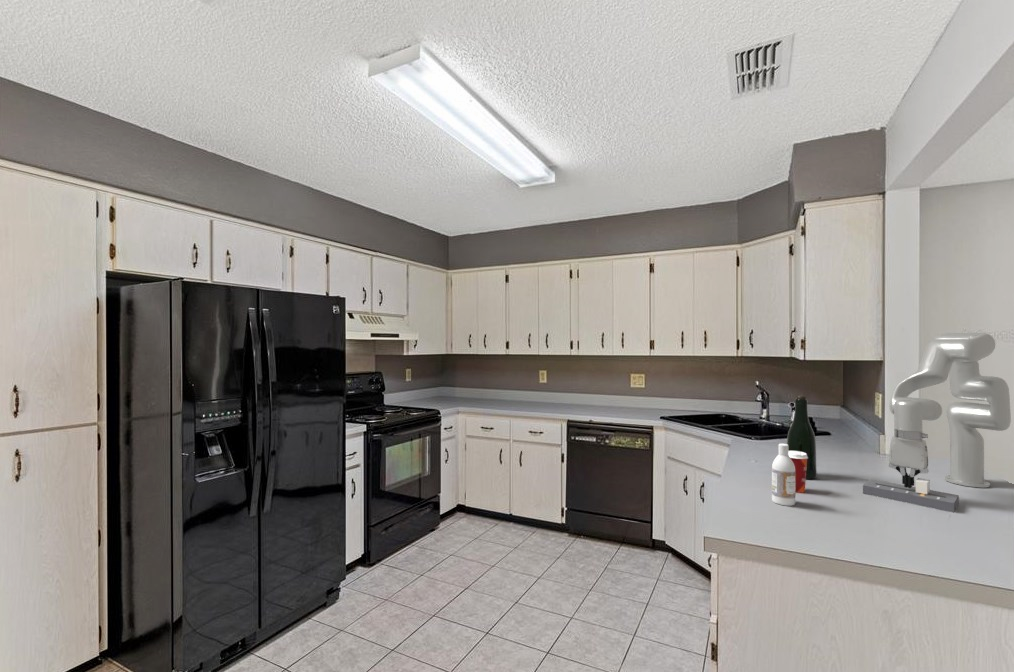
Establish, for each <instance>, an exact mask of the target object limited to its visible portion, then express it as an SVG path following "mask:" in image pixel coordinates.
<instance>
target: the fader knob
mask: <svg viewBox="0 0 1014 672" xmlns="http://www.w3.org/2000/svg"><path fill="white" fill-rule="evenodd" d="M930 482H931V480H930V479H926V478H923V477H917V479H916V480H915V487H916V492H917V493H922V494H928V493H929V492H930V490H931V486H930Z"/></svg>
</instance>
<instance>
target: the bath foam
mask: <svg viewBox="0 0 1014 672" xmlns="http://www.w3.org/2000/svg"><path fill="white" fill-rule="evenodd" d="M771 501H772V502H773V503H775V504H776V505H780V506H787V507H788V506H789V507H791V506H795V504H796V492H795V466H794V463H793V461H792V460H791V458H790V457H789V455H788V445H787V443H779V444H778V454H777V455H776V457H775V458H774V460H773V461H772V465H771Z"/></svg>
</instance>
